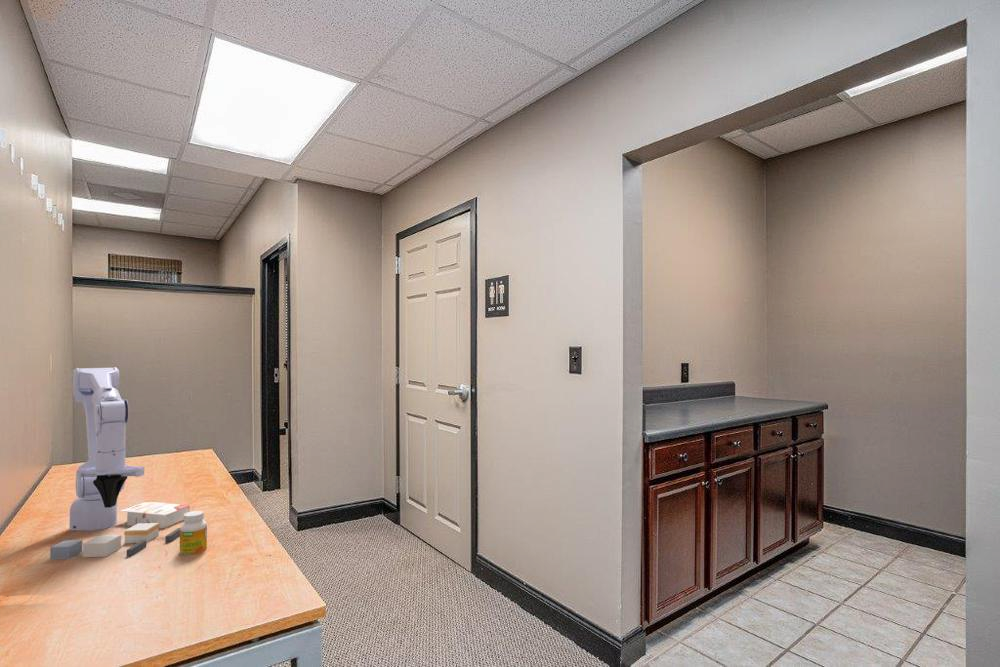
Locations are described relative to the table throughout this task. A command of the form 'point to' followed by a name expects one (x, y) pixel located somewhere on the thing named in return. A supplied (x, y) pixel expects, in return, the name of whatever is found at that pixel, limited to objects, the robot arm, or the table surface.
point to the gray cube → (66, 549)
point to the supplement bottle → (193, 533)
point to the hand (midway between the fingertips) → (110, 506)
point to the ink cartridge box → (156, 513)
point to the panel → (142, 544)
